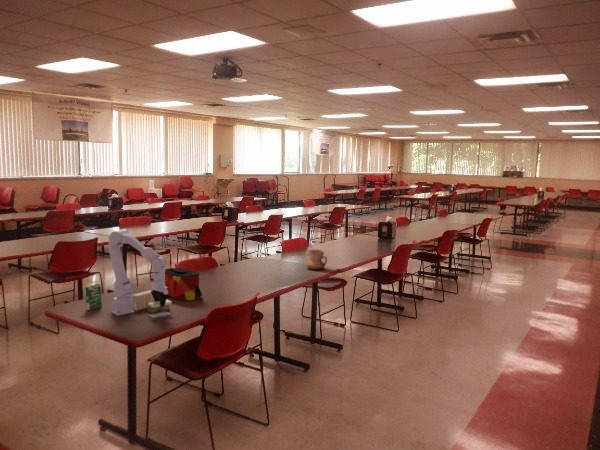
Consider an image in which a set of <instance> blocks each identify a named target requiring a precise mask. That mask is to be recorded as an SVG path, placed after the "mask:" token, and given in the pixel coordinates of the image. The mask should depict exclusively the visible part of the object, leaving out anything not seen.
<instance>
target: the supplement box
mask: <svg viewBox="0 0 600 450" xmlns="http://www.w3.org/2000/svg"><path fill="white" fill-rule="evenodd" d="M151 291H153V289H150V290H146V291H142V292H137V293H134V294H131V306H132V310H133V311H139V310H144V309H147V308H148V303H151V302H154V298H153V295H152V294H151Z"/></svg>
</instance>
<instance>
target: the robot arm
mask: <svg viewBox="0 0 600 450" xmlns="http://www.w3.org/2000/svg"><path fill="white" fill-rule="evenodd" d="M107 237H108V243H107V244H108V245H107V249H108V253H109V257H110V261H111V265H112V268H113V269H112V270H113V273H114V277H115V281H114V283H113V287H114V288H113V294H114V296H115V297H112V298H111V313H112V314H114V315H115V316H122V315H128V314H132V313H135V311H136V310H133V309H132V293H133V291H134V288H135V287H134V284H133V283H132V281H131V279H130V278H129V277H128V276H127V273H126V269H125V263H124V261H123V260H124V259H123V257H122V253H121V247H122V246H123V245H124V244H126V245H127V244H128V245H130V246H131V247H133V248H134V249H136V250H138V252H140V254H141V256H142V257H143V258H144V259H145V260H146V261H148V262H149V263H150V265H151V267H152V269H153V270H152V272H153V284H152V285H151V286H150V288H151V289H150V290H153V291H151V294H152V295H153V298H154V302H156V301H160V306H161V307H162V306H165V303H166V299H167V298H168V295H169V293H168V290H167V289H166V288H167V287H166V286H165V269H166V265H167V258H166V257H165V256H164V255H160V253H157V252H155V250H153V248H152V247H149V246H147V247H145V246H144V244H143V243H141V242H140V240H138V238H136V237H135V236H134V235H133V233H132V232H131V231H128V229H125V228H123V229H119V230H116V231H112V232H111V233H110V234H109V236H107ZM167 300H168V299H167Z"/></svg>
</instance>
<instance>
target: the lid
mask: <svg viewBox="0 0 600 450" xmlns="http://www.w3.org/2000/svg"><path fill="white" fill-rule="evenodd" d="M172 302H173V301H171V300H170V299H166V303H165V305H168V304H169V305H172ZM148 305H149V306H151V307H153V308H154V307H159V306H160V301H156V302H151V303H148Z"/></svg>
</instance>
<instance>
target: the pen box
mask: <svg viewBox="0 0 600 450" xmlns="http://www.w3.org/2000/svg"><path fill="white" fill-rule="evenodd" d="M147 311H148V313H149V314H153V313H158V312H163V311H167V312H168V311H170V304H168V305H165V306H162V307H161V306H159V307H154V308H153V307H151V306H149V305H148V310H147Z"/></svg>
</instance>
